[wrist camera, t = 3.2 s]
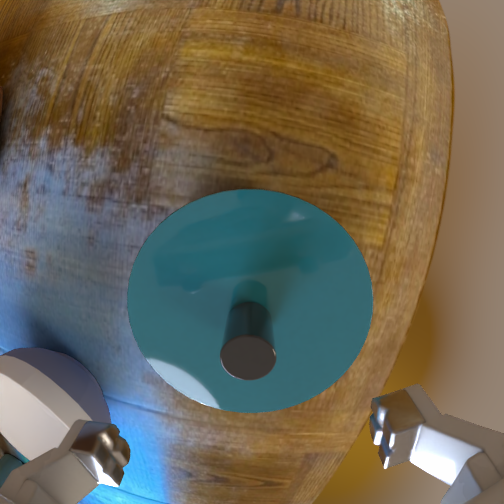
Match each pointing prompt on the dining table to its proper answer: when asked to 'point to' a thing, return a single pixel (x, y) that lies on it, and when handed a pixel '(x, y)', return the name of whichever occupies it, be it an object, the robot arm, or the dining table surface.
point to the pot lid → (250, 300)
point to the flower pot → (7, 467)
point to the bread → (1, 101)
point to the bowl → (45, 398)
